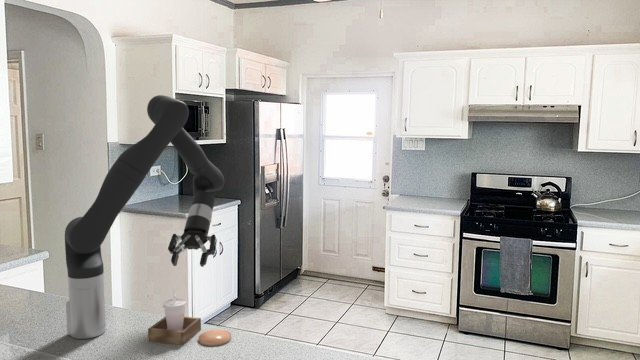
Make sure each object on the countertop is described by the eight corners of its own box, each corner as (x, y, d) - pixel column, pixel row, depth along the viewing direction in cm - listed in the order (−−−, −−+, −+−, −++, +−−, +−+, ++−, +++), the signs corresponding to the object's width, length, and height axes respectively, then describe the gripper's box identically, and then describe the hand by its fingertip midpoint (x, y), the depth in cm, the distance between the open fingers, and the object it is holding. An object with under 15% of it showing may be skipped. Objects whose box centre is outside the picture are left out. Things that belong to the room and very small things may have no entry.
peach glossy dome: (192, 344, 137) (192, 341, 136) (207, 331, 145) (207, 328, 145) (223, 347, 135) (223, 344, 135) (236, 333, 143) (236, 331, 143)
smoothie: (163, 341, 138) (161, 291, 137) (163, 332, 145) (162, 284, 143) (187, 338, 140) (186, 290, 139) (186, 329, 146) (185, 283, 145)
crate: (148, 341, 138) (148, 328, 138) (167, 326, 149) (167, 315, 148) (183, 344, 136) (183, 332, 136) (200, 329, 146) (200, 318, 146)
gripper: (174, 213, 160) (161, 258, 150) (218, 214, 159) (208, 259, 149) (180, 227, 166) (168, 270, 155) (222, 227, 165) (213, 271, 154)
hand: (187, 265), depth 152 cm, fingers open, 8 cm apart
